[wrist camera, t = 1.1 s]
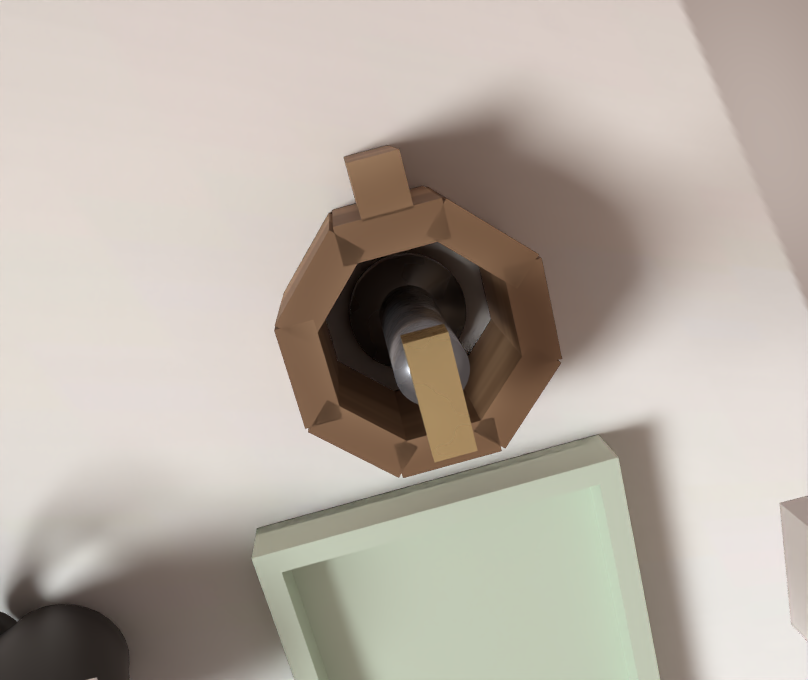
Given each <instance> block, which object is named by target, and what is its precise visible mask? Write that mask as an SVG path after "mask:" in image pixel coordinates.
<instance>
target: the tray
mask: <svg viewBox="0 0 808 680" xmlns="http://www.w3.org/2000/svg"><path fill="white" fill-rule="evenodd" d="M251 559H252V562H253V564H254V567H255V570H256V573H257V576H258V578H259V581H260V584H261V587H262V590H263V593H264V595H265V598H266V601H267V604H268V607H269V609H270V612H271V615H272V618H273V621H274V623H275V626H276V629H277V632H278V635H279V637H280V640H281V643H282V646H283V649H284V651H285V654H286V657H287V660H288V663H289V666H290V668H291V671H292V674H293V677H294V680H660V675H659V670H658V665H657V660H656V654H655V649H654V644H653V638H652V633H651V628H650V622H649V617H648V612H647V606H646V601H645V596H644V590H643V585H642V580H641V574H640V569H639V564H638V559H637V553H636V548H635V543H634V537H633V532H632V527H631V521H630V516H629V511H628V505H627V500H626V495H625V489H624V484H623V479H622V474H621V468H620V463H619V458H618V456H617V455H616V454H615V453H614V452H613V451H612V449H611V448H610V447H609V446H608V445H607V444H606V443H605V441H604V440H603V439H602V438H601V437H600V436H599V435H595V436H591V437H588V438H584V439H581V440H577V441H573V442H570V443H566V444H562V445H559V446H555V447H551V448H548V449H544V450H541V451H537V452H533V453H530V454H526V455H522V456H519V457H515V458H512V459H508V460H504V461H501V462H497V463H493V464H490V465H486V466H482V467H479V468H475V469H472V470H468V471H464V472H461V473H457V474H453V475H450V476H446V477H442V478H439V479H435V480H432V481H428V482H424V483H421V484H417V485H413V486H410V487H406V488H403V489H399V490H395V491H392V492H388V493H384V494H381V495H377V496H373V497H370V498H366V499H363V500H359V501H355V502H352V503H348V504H344V505H341V506H337V507H333V508H330V509H326V510H323V511H319V512H315V513H312V514H308V515H304V516H301V517H297V518H294V519H290V520H286V521H283V522H279V523H275V524H272V525H268V526H264V527H261V528H257V531H256V536H255V542H254V547H253V553H252V558H251Z"/></svg>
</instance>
